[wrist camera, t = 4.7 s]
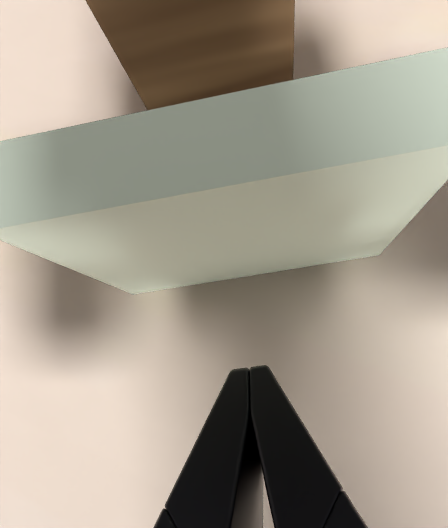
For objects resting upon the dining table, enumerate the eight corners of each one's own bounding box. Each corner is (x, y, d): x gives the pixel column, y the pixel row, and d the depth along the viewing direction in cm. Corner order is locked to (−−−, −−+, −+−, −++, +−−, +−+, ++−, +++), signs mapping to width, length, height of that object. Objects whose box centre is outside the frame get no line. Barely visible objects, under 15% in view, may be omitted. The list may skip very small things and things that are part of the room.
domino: (291, 141, 18) (295, -66, 9) (177, 163, 18) (79, -12, 10) (283, 100, 18) (280, -134, 10) (173, 122, 19) (75, -78, 10)
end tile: (378, 255, 16) (485, 138, 8) (133, 294, 17) (-21, 232, 9) (368, 207, 17) (456, 46, 8) (129, 248, 18) (-20, 145, 9)
